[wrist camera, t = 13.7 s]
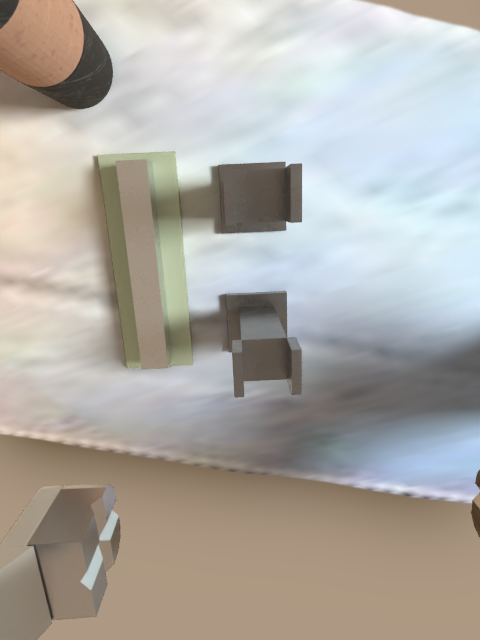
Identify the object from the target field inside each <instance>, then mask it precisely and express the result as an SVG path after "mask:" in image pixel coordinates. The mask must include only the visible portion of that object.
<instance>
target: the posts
mask: <svg viewBox="0 0 480 640" xmlns="http://www.w3.org/2000/svg"><path fill="white" fill-rule="evenodd" d="M219 181H220V199H221V217H222V233H240V232H262V231H284V230H286V221H287V222H290V223H294V222H302V164H290V165H289V166H287V167H286V168H285V162H271V163H249V164H227V165H219ZM226 307H227V326H228V344H229V352H232V358H233V376H234V395H235V397H244V382H243V381H259V380H280V379H287V381H288V384H289V387H290V390H291V394H292V395H296V394H301V348H300V345H299V343H298V341H297V339H296V337H293V338H287V292H286V291H279V292H257V293H236V294H226Z"/></svg>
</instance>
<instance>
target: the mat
mask: <svg viewBox="0 0 480 640" xmlns="http://www.w3.org/2000/svg"><path fill="white" fill-rule="evenodd" d="M141 159H147V160H149V161H151V162H153V171H154V181H155V191H156V201H157V211H158V221H159V231H160V241H161V251H162V261H163V271H164V281H165V291H166V301H167V311H168V321H169V331H170V341H171V351H172V360H171V362H170V365H169V366H180V365H193V354H192V343H191V331H190V319H189V307H188V296H187V284H186V272H185V260H184V248H183V237H182V225H181V213H180V201H179V189H178V178H177V166H176V154H175V152H153V153H131V154H109V155H98V162H99V170H100V177H101V184H102V191H103V198H104V206H105V213H106V220H107V227H108V234H109V242H110V249H111V256H112V263H113V270H114V278H115V285H116V292H117V299H118V306H119V314H120V321H121V328H122V335H123V342H124V350H125V357H126V364H127V368H137V367H141V359H140V351H139V343H138V335H137V327H136V319H135V311H134V304H133V296H132V288H131V280H130V272H129V264H128V256H127V248H126V240H125V232H124V224H123V216H122V208H121V200H120V192H119V184H118V177H117V169H116V161H118V160H141Z"/></svg>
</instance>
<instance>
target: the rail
mask: <svg viewBox="0 0 480 640" xmlns="http://www.w3.org/2000/svg"><path fill="white" fill-rule="evenodd" d="M116 169H117V177H118V184H119V192H120V200H121V208H122V216H123V224H124V232H125V240H126V248H127V256H128V264H129V272H130V280H131V288H132V296H133V304H134V311H135V319H136V327H137V335H138V343H139V351H140V359H141V367H142V369H156V368H168V367H169V365H170V362H171V360H172V351H171V341H170V331H169V321H168V311H167V301H166V291H165V281H164V271H163V261H162V251H161V241H160V231H159V221H158V211H157V201H156V191H155V181H154V171H153V162H151V161H149V160H147V159H141V160H118V161H116Z"/></svg>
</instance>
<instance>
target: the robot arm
mask: <svg viewBox="0 0 480 640" xmlns="http://www.w3.org/2000/svg"><path fill="white" fill-rule="evenodd" d="M475 484H476V485H477V486H478V488H479V489H480V470H479V471H478V473H477V476H476V482H475ZM115 501H116V496H115V492H114V487H113V486H112V485H110V484H107V485H66V486H44V487H42V488H40V489H39V490H38V491H37V492H36V493H35V495H34V496H33V498H32V499H31V500H30V502H29V503H28V505H27V506H26V508H25V509H24V510H23V512H22V513H21V515H20V516H19V518H18V519H17V520H16V522H15V523H14V525H13V526H12V528H11V529H10V530H9V532H8V533H7V535H6V536H5V538H4V539H3V540H2V542H1V544H0V640H37V639H38V638H39V637H40V636H41V635H42V634H43V633H44V631H45V630H46V629H47V628H48V627H49V626H50V625H51V624H52V620H61V619H74V618H85V617H96V616H97V613H98V610H99V607H100V604H101V601H102V598H103V596H104V593H105V590H106V587H107V579H106V573H105V572H106V571H107V570H108V569H109V568H110V567H111V566H112V565H114V563H115V560H116V556H117V553H118V549H119V542H120V520H119V516H118V515H117V514H116V513H115V512H114V511H113V510H112V509H113V506H114V504H115ZM471 514H472V518H473V523H474V527H475V529H476V531H477V533H478V535H479V537H480V493H479V494H478V495H477V496H476V497H475V498H474V499H473V501H472V511H471Z"/></svg>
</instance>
